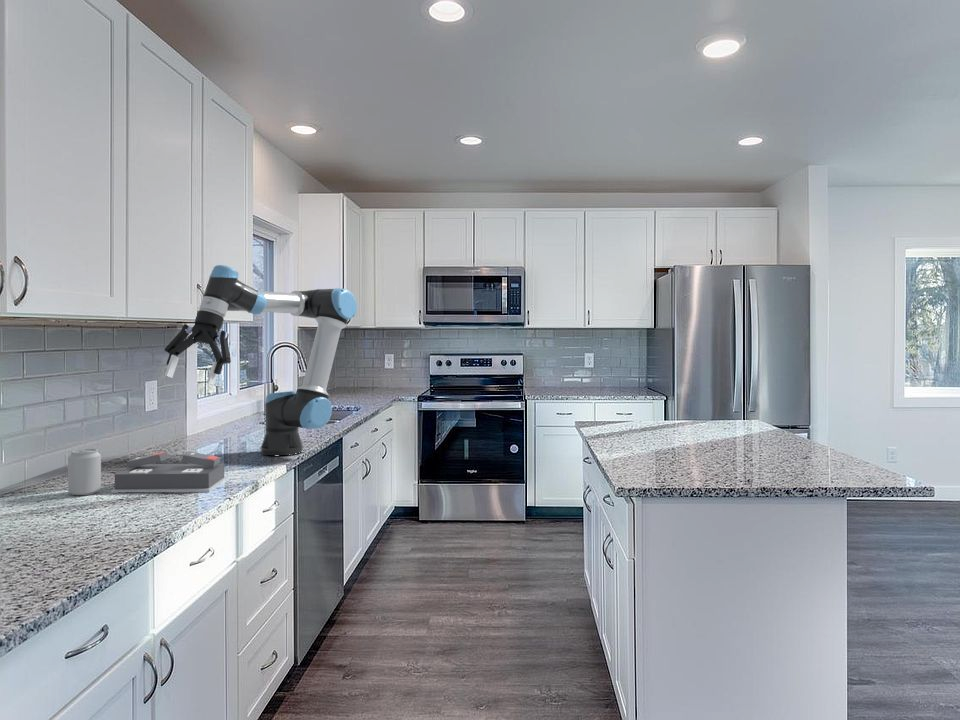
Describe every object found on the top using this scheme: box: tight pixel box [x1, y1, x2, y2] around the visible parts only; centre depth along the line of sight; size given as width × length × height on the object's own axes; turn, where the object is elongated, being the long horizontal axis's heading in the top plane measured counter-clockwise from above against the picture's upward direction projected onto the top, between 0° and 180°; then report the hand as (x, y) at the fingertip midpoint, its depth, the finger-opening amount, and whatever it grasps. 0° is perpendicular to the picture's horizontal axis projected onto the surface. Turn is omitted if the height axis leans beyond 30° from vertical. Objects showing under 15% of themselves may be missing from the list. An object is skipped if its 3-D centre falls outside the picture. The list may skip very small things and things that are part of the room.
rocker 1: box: [126, 451, 169, 468], centre depth 168 cm, size 5×9×2 cm, turn 96°
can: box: [67, 448, 102, 496], centre depth 158 cm, size 8×8×12 cm
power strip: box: [110, 463, 228, 494], centre depth 167 cm, size 15×26×5 cm, turn 96°
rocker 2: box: [181, 451, 221, 468], centre depth 170 cm, size 5×9×2 cm, turn 96°
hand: (189, 380), depth 170 cm, fingers open, 13 cm apart
